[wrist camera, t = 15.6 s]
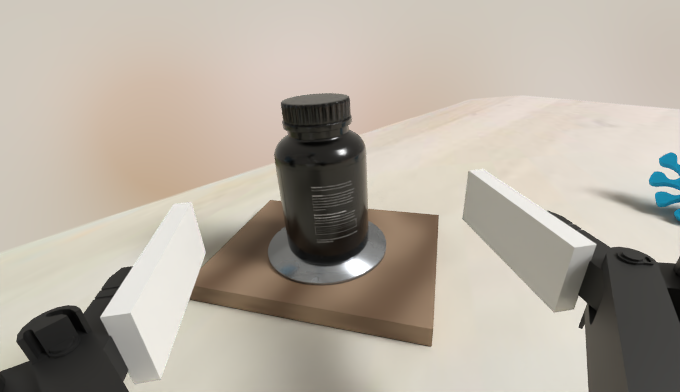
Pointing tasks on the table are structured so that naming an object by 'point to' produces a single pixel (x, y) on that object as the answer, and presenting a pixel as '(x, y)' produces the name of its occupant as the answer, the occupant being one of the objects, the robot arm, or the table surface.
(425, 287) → the walnut board
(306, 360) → the table surface
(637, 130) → the table surface
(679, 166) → the gear
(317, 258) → the supplement bottle
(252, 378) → the table surface
